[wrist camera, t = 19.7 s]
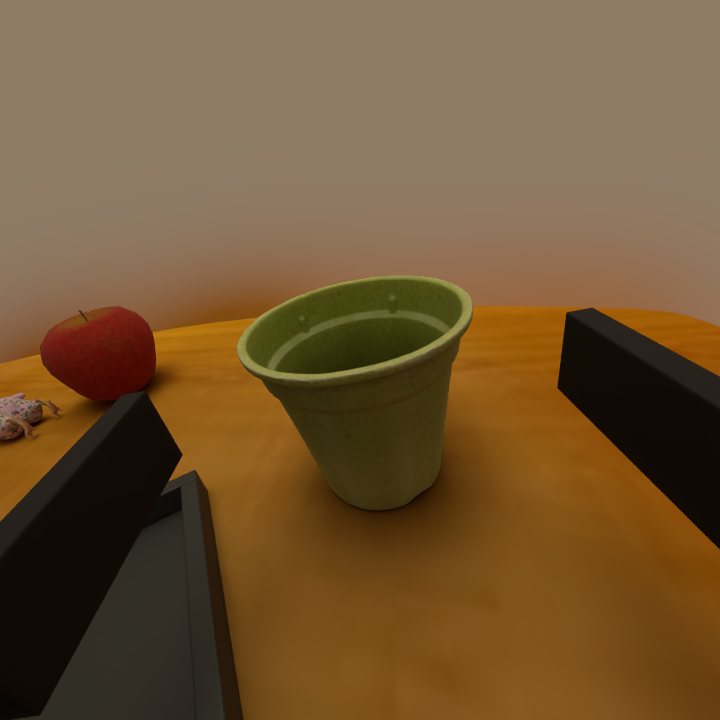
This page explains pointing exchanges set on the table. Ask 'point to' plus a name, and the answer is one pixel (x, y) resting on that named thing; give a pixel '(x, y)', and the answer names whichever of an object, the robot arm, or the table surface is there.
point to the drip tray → (158, 627)
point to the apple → (101, 353)
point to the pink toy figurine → (21, 415)
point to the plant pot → (365, 379)
